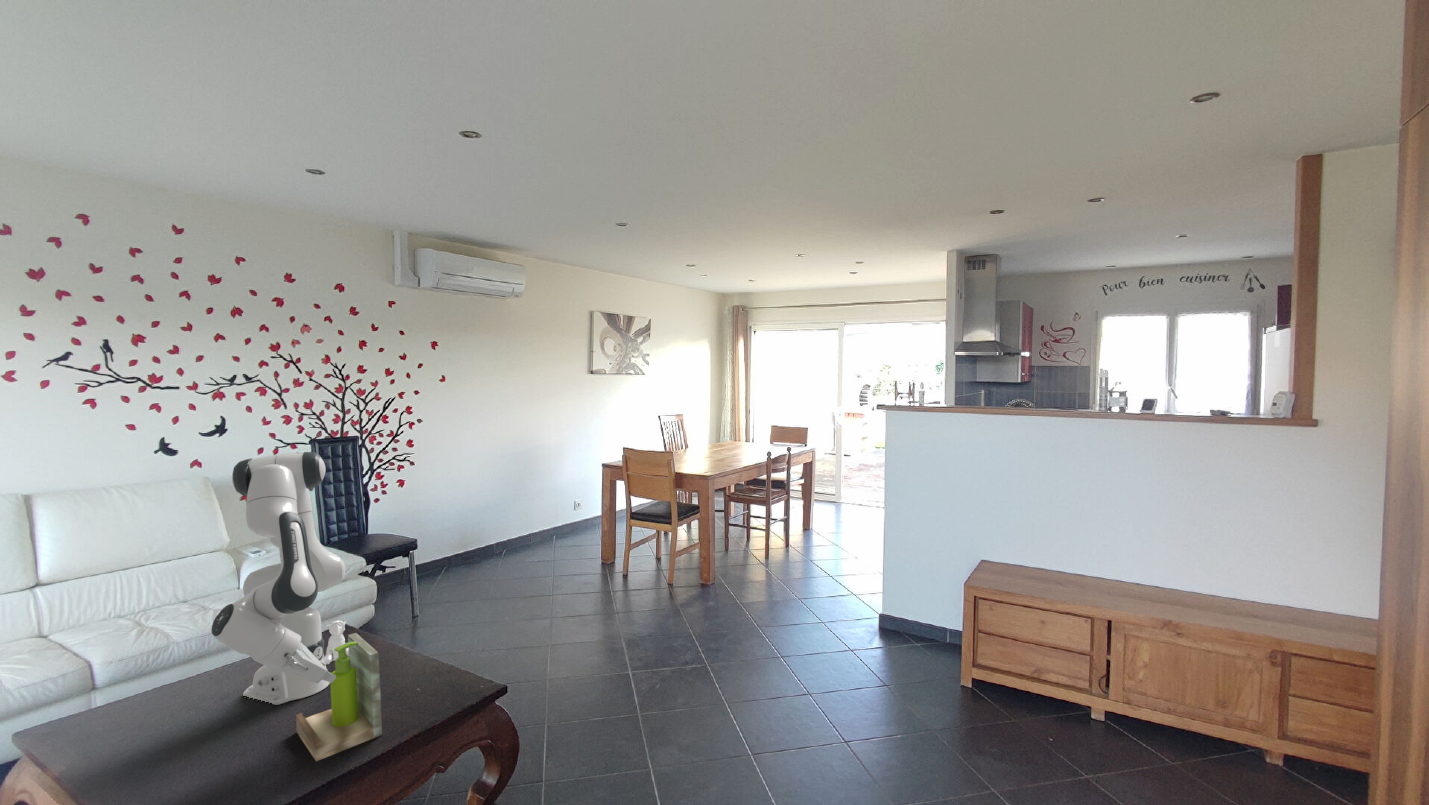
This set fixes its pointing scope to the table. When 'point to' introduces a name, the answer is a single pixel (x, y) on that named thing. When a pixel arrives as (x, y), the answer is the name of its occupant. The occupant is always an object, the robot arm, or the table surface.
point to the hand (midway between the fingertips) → (327, 673)
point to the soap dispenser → (344, 689)
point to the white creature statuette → (335, 641)
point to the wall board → (332, 739)
